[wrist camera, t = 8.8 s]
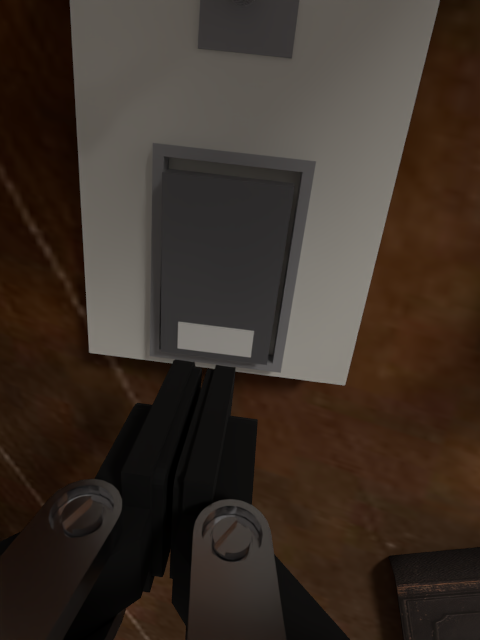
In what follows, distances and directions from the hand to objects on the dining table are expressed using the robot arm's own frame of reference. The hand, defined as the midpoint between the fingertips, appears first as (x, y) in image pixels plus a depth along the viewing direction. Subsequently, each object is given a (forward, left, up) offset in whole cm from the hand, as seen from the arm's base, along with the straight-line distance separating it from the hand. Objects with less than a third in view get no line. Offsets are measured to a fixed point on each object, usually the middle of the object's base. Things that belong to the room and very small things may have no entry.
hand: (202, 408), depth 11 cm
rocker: (-2, 0, -5) cm, 6 cm away
